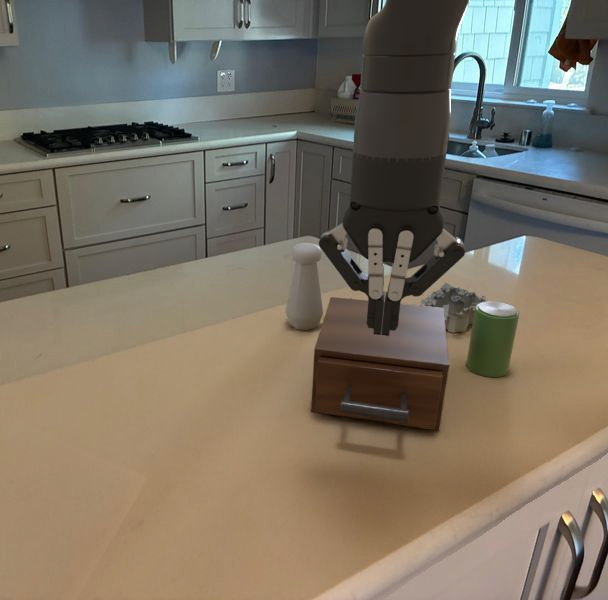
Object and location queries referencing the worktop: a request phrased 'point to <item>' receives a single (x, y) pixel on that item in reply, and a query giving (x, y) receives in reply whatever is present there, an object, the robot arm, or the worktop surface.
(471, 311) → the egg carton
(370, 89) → the robot arm
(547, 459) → the worktop surface
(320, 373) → the drawer
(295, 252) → the salt shaker
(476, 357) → the can
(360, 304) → the cabinet
